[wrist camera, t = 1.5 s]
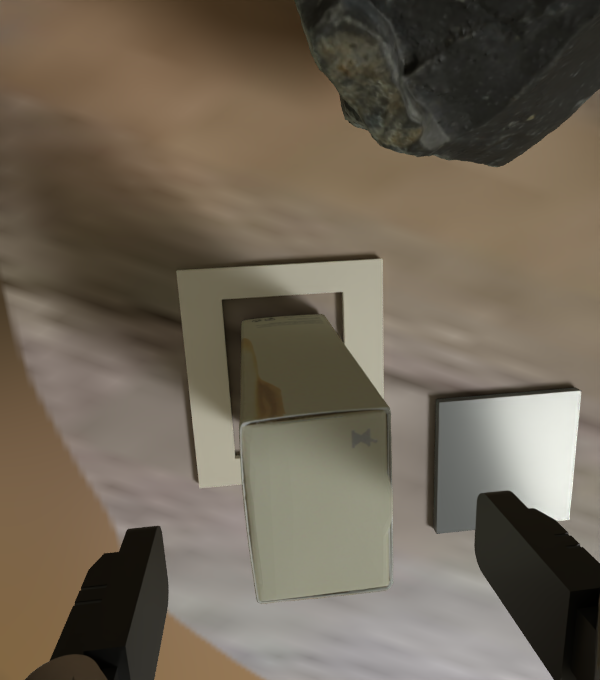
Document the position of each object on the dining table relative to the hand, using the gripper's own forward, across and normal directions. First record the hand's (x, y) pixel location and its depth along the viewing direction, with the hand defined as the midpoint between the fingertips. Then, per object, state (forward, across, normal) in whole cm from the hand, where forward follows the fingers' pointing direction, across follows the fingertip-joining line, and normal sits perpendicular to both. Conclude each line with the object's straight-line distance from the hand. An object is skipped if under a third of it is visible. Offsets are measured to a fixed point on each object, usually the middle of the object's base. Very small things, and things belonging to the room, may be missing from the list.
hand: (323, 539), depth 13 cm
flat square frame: (+14, 0, 0) cm, 14 cm away
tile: (+14, -12, +6) cm, 19 cm away
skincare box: (+14, 0, 0) cm, 14 cm away
